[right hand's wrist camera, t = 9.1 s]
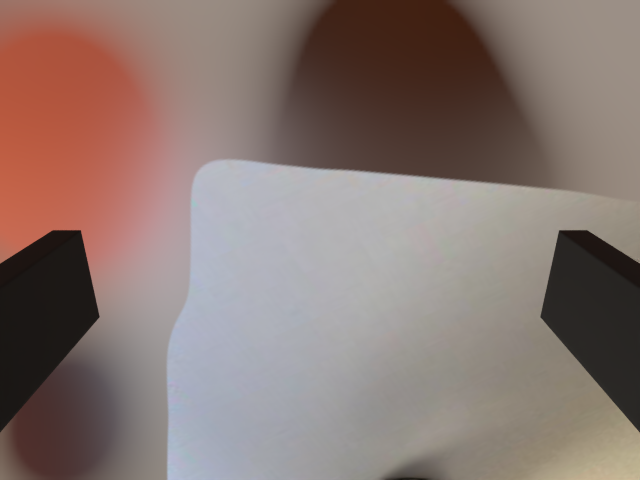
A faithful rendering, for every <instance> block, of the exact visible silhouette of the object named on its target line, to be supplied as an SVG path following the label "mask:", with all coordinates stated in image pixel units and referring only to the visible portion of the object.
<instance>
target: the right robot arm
mask: <svg viewBox="0 0 640 480" xmlns="http://www.w3.org/2000/svg"><path fill="white" fill-rule="evenodd" d="M98 318H99V313H98V308H97V303H96V298H95V294H94V289H93V285H92V280H91V275H90V271H89V266H88V262H87V257H86V252H85V248H84V243H83V239H82V234H81V230H53V231H51V232H50V233H48V234H46V235H45V236H43V237H42V238H40V239H38V240H37V241H35V242H34V243H32V244H31V245H29V246H27V247H26V248H24V249H23V250H21V251H20V252H18V253H16V254H15V255H13V256H12V257H10V258H8V259H7V260H5V261H4V262H2V263H1V264H0V432H1V431H2V430H3V428H4V427H5V426H6V425H7V424H8V423H9V421H10V420H11V419H12V418H13V417H14V416H15V414H16V413H17V412H18V411H19V410H20V409H21V408H22V406H23V405H24V404H25V403H26V402H27V401H28V399H29V398H30V397H31V396H32V395H33V394H34V392H35V391H36V390H37V389H38V388H39V387H40V385H41V384H42V383H43V382H44V381H45V380H46V379H47V377H48V376H49V375H50V374H51V373H52V372H53V370H54V369H55V368H56V367H57V366H58V365H59V363H60V362H61V361H62V360H63V359H64V358H65V357H66V355H67V354H68V353H69V352H70V351H71V349H72V348H73V347H74V346H75V345H76V344H77V343H78V341H79V340H80V339H81V338H82V337H83V336H84V334H85V333H86V332H87V331H88V330H89V329H90V327H91V326H92V325H93V324H94V323H95V322H96V321H97V319H98ZM541 318H542V319H543V321H544V322H545V323H546V324H547V325H548V326H549V328H550V329H551V330H552V331H553V332H554V333H555V334H556V336H557V337H558V338H559V339H560V340H561V341H562V343H563V344H564V345H565V346H566V347H567V348H568V350H569V351H570V352H571V353H572V354H573V355H574V357H575V358H576V359H577V360H578V361H579V362H580V363H581V365H582V366H583V367H584V368H585V369H586V370H587V372H588V373H589V374H590V375H591V376H592V377H593V379H594V380H595V381H596V382H597V383H598V384H599V385H600V387H601V388H602V389H603V390H604V391H605V392H606V394H607V395H608V396H609V397H610V398H611V399H612V401H613V402H614V403H615V404H616V405H617V406H618V408H619V409H620V410H621V411H622V412H623V413H624V414H625V416H626V417H627V418H628V419H629V420H630V421H631V423H632V424H633V425H634V426H635V427H636V428H637V430H638V431H639V432H640V264H639V263H638V262H636V261H635V260H633V259H632V258H630V257H628V256H627V255H625V254H624V253H622V252H620V251H619V250H617V249H616V248H614V247H613V246H611V245H609V244H608V243H606V242H605V241H603V240H602V239H600V238H598V237H597V236H595V235H594V234H592V233H590V232H589V231H587V230H559V234H558V238H557V243H556V248H555V252H554V257H553V262H552V266H551V271H550V275H549V280H548V285H547V289H546V294H545V298H544V303H543V308H542V312H541ZM404 480H419V479H404Z"/></svg>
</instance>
